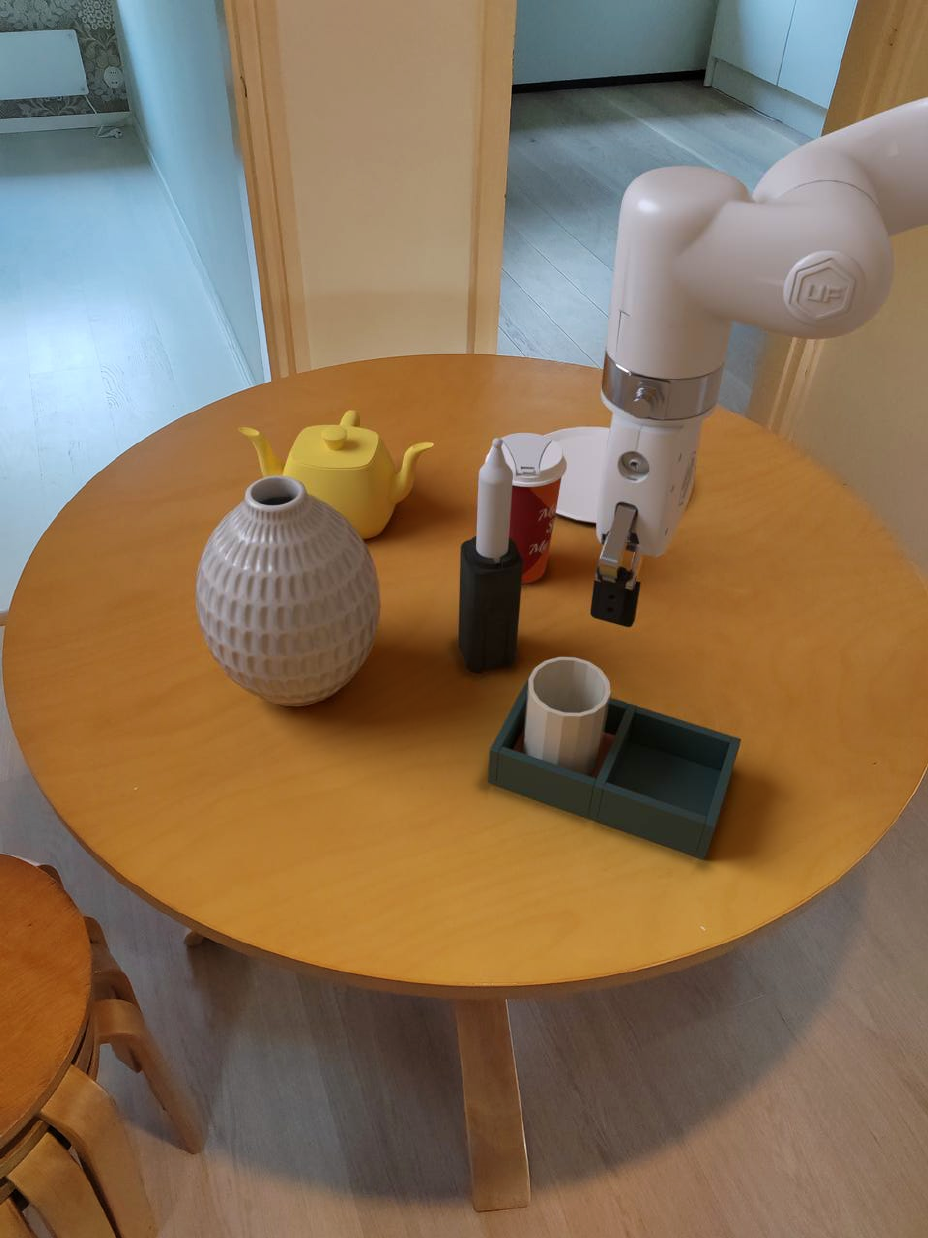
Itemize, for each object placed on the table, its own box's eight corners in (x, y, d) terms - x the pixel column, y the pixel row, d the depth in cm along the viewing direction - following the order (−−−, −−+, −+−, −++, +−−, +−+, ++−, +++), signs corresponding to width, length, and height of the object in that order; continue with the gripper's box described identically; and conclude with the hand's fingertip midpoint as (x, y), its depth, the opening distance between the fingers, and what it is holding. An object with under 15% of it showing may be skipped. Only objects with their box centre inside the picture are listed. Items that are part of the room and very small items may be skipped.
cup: (607, 740, 90) (620, 671, 84) (584, 795, 85) (595, 726, 79) (537, 717, 92) (545, 647, 85) (511, 769, 87) (516, 700, 81)
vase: (294, 773, 87) (264, 582, 72) (180, 684, 95) (132, 494, 80) (418, 675, 96) (415, 487, 81) (305, 601, 104) (283, 416, 89)
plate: (679, 439, 129) (681, 431, 128) (689, 537, 113) (691, 528, 112) (520, 427, 130) (521, 419, 129) (509, 522, 115) (509, 514, 114)
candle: (469, 674, 96) (476, 459, 79) (455, 639, 100) (460, 426, 83) (518, 665, 97) (536, 450, 81) (503, 631, 101) (517, 418, 84)
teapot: (444, 475, 121) (444, 397, 114) (425, 553, 110) (424, 472, 103) (270, 460, 123) (259, 382, 116) (233, 536, 112) (219, 455, 104)
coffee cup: (557, 592, 106) (570, 475, 96) (480, 590, 106) (485, 473, 96) (553, 543, 112) (565, 429, 102) (481, 541, 112) (485, 427, 102)
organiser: (730, 772, 88) (741, 738, 85) (704, 860, 81) (715, 827, 78) (528, 705, 94) (531, 671, 91) (487, 783, 87) (489, 749, 84)
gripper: (686, 458, 57) (648, 668, 68) (746, 331, 68) (705, 528, 80) (562, 431, 59) (545, 639, 70) (640, 312, 70) (615, 507, 82)
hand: (630, 580), depth 75 cm, fingers open, 9 cm apart
